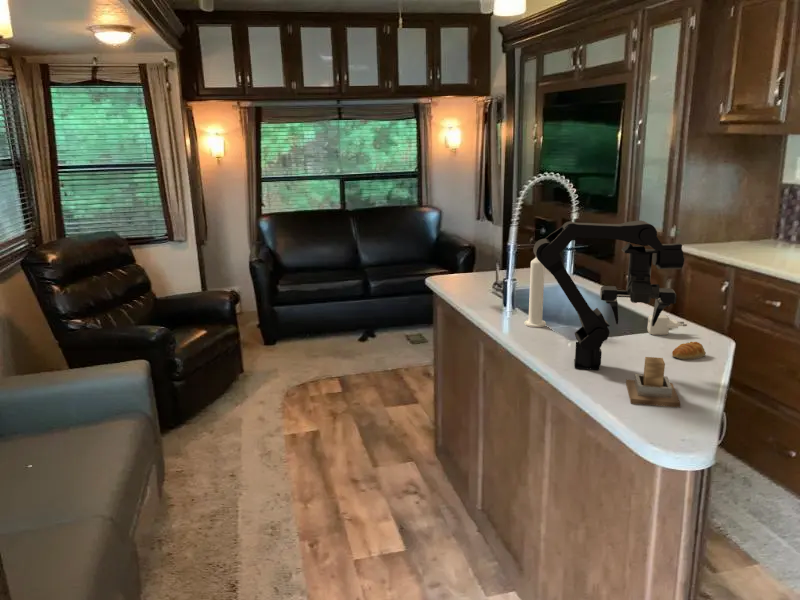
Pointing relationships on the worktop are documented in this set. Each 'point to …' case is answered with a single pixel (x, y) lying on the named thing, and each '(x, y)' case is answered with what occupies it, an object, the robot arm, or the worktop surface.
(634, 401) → the plate
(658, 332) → the power adapter
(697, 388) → the worktop surface
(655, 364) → the rail post
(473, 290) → the worktop surface
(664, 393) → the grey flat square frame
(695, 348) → the pastry
